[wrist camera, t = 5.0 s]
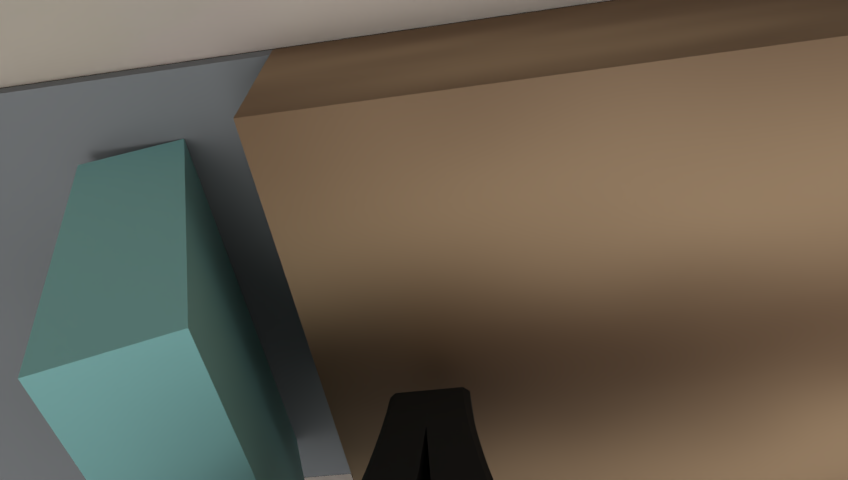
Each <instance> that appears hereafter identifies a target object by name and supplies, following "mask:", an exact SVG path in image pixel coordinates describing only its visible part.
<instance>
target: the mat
mask: <svg viewBox="0 0 848 480" xmlns="http://www.w3.org/2000/svg"><path fill="white" fill-rule="evenodd" d="M272 50H273V49H272ZM272 50H265V51H258V52H251V53H245V54H238V55H231V56H224V57H217V58H210V59H203V60H196V61H189V62H182V63H175V64H168V65H161V66H154V67H147V68H140V69H133V70H126V71H119V72H112V73H106V74H99V75H92V76H85V77H78V78H71V79H64V80H57V81H50V82H43V83H36V84H29V85H22V86H15V87H8V88H1V89H0V480H86V479H85V477H84V476H83V474H82V473H81V471H80V470H79V468H78V467H77V465H76V464H75V462H74V461H73V459H72V458H71V457H70V455H69V454H68V452H67V451H66V449H65V448H64V446H63V445H62V443H61V442H60V440H59V439H58V437H57V436H56V434H55V433H54V431H53V430H52V428H51V427H50V425H49V424H48V423H47V421H46V420H45V418H44V417H43V415H42V414H41V412H40V411H39V409H38V408H37V406H36V405H35V403H34V402H33V400H32V399H31V397H30V396H29V394H28V393H27V391H26V390H25V389H24V387H23V386H22V384H21V383H20V381H19V380H18V376H19V373H20V369H21V365H22V362H23V358H24V355H25V351H26V348H27V344H28V341H29V337H30V333H31V330H32V326H33V323H34V319H35V316H36V312H37V309H38V305H39V302H40V298H41V294H42V291H43V287H44V284H45V280H46V277H47V273H48V270H49V266H50V262H51V259H52V255H53V252H54V248H55V245H56V241H57V238H58V234H59V230H60V227H61V223H62V220H63V216H64V213H65V209H66V206H67V202H68V198H69V195H70V191H71V188H72V184H73V181H74V177H75V174H76V170H77V167H78V165H80V164H84V163H88V162H92V161H96V160H100V159H104V158H108V157H112V156H116V155H120V154H124V153H128V152H132V151H136V150H140V149H144V148H148V147H152V146H156V145H160V144H164V143H168V142H172V141H176V140H180V139H184V140H185V142H186V145H187V148H188V150H189V153H190V156H191V158H192V161H193V164H194V166H195V169H196V172H197V174H198V177H199V180H200V182H201V185H202V188H203V191H204V193H205V196H206V199H207V201H208V204H209V207H210V209H211V212H212V215H213V217H214V220H215V223H216V225H217V228H218V231H219V233H220V236H221V239H222V241H223V244H224V247H225V249H226V252H227V255H228V257H229V260H230V263H231V265H232V268H233V271H234V273H235V276H236V279H237V281H238V284H239V287H240V289H241V292H242V295H243V297H244V300H245V303H246V305H247V308H248V311H249V313H250V316H251V319H252V322H253V324H254V327H255V330H256V332H257V335H258V338H259V340H260V343H261V346H262V348H263V351H264V354H265V356H266V359H267V362H268V364H269V367H270V370H271V372H272V375H273V378H274V380H275V383H276V386H277V388H278V391H279V394H280V396H281V399H282V402H283V404H284V407H285V410H286V412H287V415H288V418H289V420H290V423H291V426H292V428H293V431H294V434H295V436H296V439H297V444H298V449H299V454H300V460H301V465H302V470H303V475H304V477H316V476H328V475H340V474H351V472H350V469H349V466H348V463H347V460H346V457H345V453H344V450H343V447H342V444H341V441H340V438H339V435H338V432H337V429H336V426H335V423H334V420H333V417H332V414H331V411H330V408H329V405H328V402H327V399H326V396H325V393H324V390H323V387H322V384H321V381H320V378H319V375H318V372H317V369H316V366H315V363H314V360H313V357H312V354H311V351H310V348H309V345H308V342H307V339H306V336H305V333H304V330H303V327H302V324H301V321H300V318H299V315H298V312H297V309H296V306H295V303H294V300H293V297H292V294H291V291H290V288H289V285H288V282H287V279H286V276H285V273H284V270H283V267H282V264H281V261H280V258H279V255H278V252H277V249H276V246H275V243H274V240H273V237H272V234H271V231H270V228H269V225H268V222H267V219H266V216H265V213H264V210H263V207H262V204H261V200H260V197H259V194H258V191H257V188H256V185H255V182H254V179H253V176H252V173H251V170H250V167H249V164H248V161H247V158H246V155H245V152H244V149H243V146H242V143H241V140H240V137H239V134H238V131H237V128H236V125H235V122H234V119H233V118H234V116H235V114H236V113H237V111H238V109H239V108H240V106H241V104H242V102H243V101H244V99H245V97H246V95H247V94H248V92H249V90H250V88H251V87H252V85H253V83H254V81H255V80H256V78H257V76H258V74H259V73H260V71H261V69H262V67H263V66H264V64H265V62H266V60H267V59H268V57H269V55H270V53H271V52H272Z"/></svg>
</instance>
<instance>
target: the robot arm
mask: <svg viewBox="0 0 848 480" xmlns="http://www.w3.org/2000/svg"><path fill="white" fill-rule="evenodd" d="M362 480H493V477H492V475H491V472H490V470H489V467H488V464H487V461H486V459H485V456H484V453H483V450H482V446H481V443H480V440H479V437H478V434H477V430H476V426H475V421H474V415H473V408H472V401H471V395H470V391H469V390H467V389H466V388H464V387H456V388H445V389H434V390H424V391H413V392H402V393H395V394H394V395H393V396H392V397H391V398H390V401H389V404H388V408H387V412H386V415H385V418H384V422H383V425H382V428H381V431H380V434H379V437H378V439H377V442H376V445H375V448H374V450H373V453H372V456H371V458H370V461H369V463H368V466H367V468H366V471H365V473H364V475H363V478H362Z"/></svg>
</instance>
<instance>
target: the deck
mask: <svg viewBox="0 0 848 480" xmlns="http://www.w3.org/2000/svg"><path fill="white" fill-rule="evenodd" d="M233 119H234V122H235V125H236V128H237V131H238V134H239V137H240V140H241V143H242V146H243V149H244V152H245V155H246V158H247V161H248V164H249V167H250V170H251V173H252V176H253V179H254V182H255V185H256V188H257V191H258V194H259V197H260V200H261V204H262V207H263V210H264V213H265V216H266V219H267V222H268V225H269V228H270V231H271V234H272V237H273V240H274V243H275V246H276V249H277V252H278V255H279V258H280V261H281V264H282V267H283V270H284V273H285V276H286V279H287V282H288V285H289V288H290V291H291V294H292V297H293V300H294V303H295V306H296V309H297V312H298V315H299V318H300V321H301V324H302V327H303V330H304V333H305V336H306V339H307V342H308V345H309V348H310V351H311V354H312V357H313V360H314V363H315V366H316V369H317V372H318V375H319V378H320V381H321V384H322V387H323V390H324V393H325V396H326V399H327V402H328V405H329V408H330V411H331V414H332V417H333V420H334V423H335V426H336V429H337V432H338V435H339V438H340V441H341V444H342V447H343V450H344V453H345V457H346V460H347V463H348V466H349V469H350V472H351V475H352V478H353V480H362V478H363V475H364V473H365V471H366V468H367V466H368V463H369V461H370V458H371V456H372V453H373V450H374V448H375V445H376V442H377V439H378V437H379V434H380V431H381V428H382V425H383V422H384V418H385V415H386V412H387V408H388V404H389V401H390V398H391V397H392V396H393V395H394V394H395V393H402V392H413V391H424V390H434V389H445V388H456V387H464V388H466V389H467V390H469V391H470V395H471V401H472V408H473V415H474V421H475V426H476V430H477V434H478V437H479V440H480V443H481V446H482V450H483V453H484V456H485V459H486V461H487V464H488V467H489V470H490V472H491V475H492V477H493V480H848V0H613V1H606V2H599V3H592V4H585V5H578V6H571V7H564V8H557V9H550V10H543V11H536V12H529V13H522V14H516V15H509V16H502V17H495V18H488V19H481V20H474V21H467V22H460V23H453V24H446V25H439V26H432V27H425V28H418V29H411V30H404V31H397V32H390V33H383V34H377V35H370V36H363V37H356V38H349V39H342V40H335V41H328V42H321V43H314V44H307V45H300V46H293V47H286V48H279V49H273V50H272V52H271V53H270V55H269V57H268V59H267V60H266V62H265V64H264V66H263V67H262V69H261V71H260V73H259V74H258V76H257V78H256V80H255V81H254V83H253V85H252V87H251V88H250V90H249V92H248V94H247V95H246V97H245V99H244V101H243V102H242V104H241V106H240V108H239V109H238V111H237V113H236V114H235V116H234V118H233Z"/></svg>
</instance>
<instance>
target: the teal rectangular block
mask: <svg viewBox="0 0 848 480" xmlns="http://www.w3.org/2000/svg"><path fill="white" fill-rule="evenodd" d="M18 380H19V381H20V383H21V384H22V386H23V387H24V389H25V390H26V391H27V393H28V394H29V396H30V397H31V399H32V400H33V402H34V403H35V405H36V406H37V408H38V409H39V411H40V412H41V414H42V415H43V417H44V418H45V420H46V421H47V423H48V424H49V425H50V427H51V428H52V430H53V431H54V433H55V434H56V436H57V437H58V439H59V440H60V442H61V443H62V445H63V446H64V448H65V449H66V451H67V452H68V454H69V455H70V457H71V458H72V459H73V461H74V462H75V464H76V465H77V467H78V468H79V470H80V471H81V473H82V474H83V476H84V477H85V479H86V480H304V475H303V470H302V465H301V460H300V454H299V449H298V444H297V439H296V436H295V434H294V431H293V428H292V426H291V423H290V420H289V418H288V415H287V412H286V410H285V407H284V404H283V402H282V399H281V396H280V394H279V391H278V388H277V386H276V383H275V380H274V378H273V375H272V372H271V370H270V367H269V364H268V362H267V359H266V356H265V354H264V351H263V348H262V346H261V343H260V340H259V338H258V335H257V332H256V330H255V327H254V324H253V322H252V319H251V316H250V313H249V311H248V308H247V305H246V303H245V300H244V297H243V295H242V292H241V289H240V287H239V284H238V281H237V279H236V276H235V273H234V271H233V268H232V265H231V263H230V260H229V257H228V255H227V252H226V249H225V247H224V244H223V241H222V239H221V236H220V233H219V231H218V228H217V225H216V223H215V220H214V217H213V215H212V212H211V209H210V207H209V204H208V201H207V199H206V196H205V193H204V191H203V188H202V185H201V182H200V180H199V177H198V174H197V172H196V169H195V166H194V164H193V161H192V158H191V156H190V153H189V150H188V148H187V145H186V142H185V140H184V139H180V140H176V141H172V142H168V143H164V144H160V145H156V146H152V147H148V148H144V149H140V150H136V151H132V152H128V153H124V154H120V155H116V156H112V157H108V158H104V159H100V160H96V161H92V162H88V163H84V164H80V165H78V167H77V170H76V174H75V177H74V181H73V184H72V188H71V191H70V195H69V198H68V202H67V206H66V209H65V213H64V216H63V220H62V223H61V227H60V230H59V234H58V238H57V241H56V245H55V248H54V252H53V255H52V259H51V262H50V266H49V270H48V273H47V277H46V280H45V284H44V287H43V291H42V294H41V298H40V302H39V305H38V309H37V312H36V316H35V319H34V323H33V326H32V330H31V333H30V337H29V341H28V344H27V348H26V351H25V355H24V358H23V362H22V365H21V369H20V373H19V376H18Z"/></svg>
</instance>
